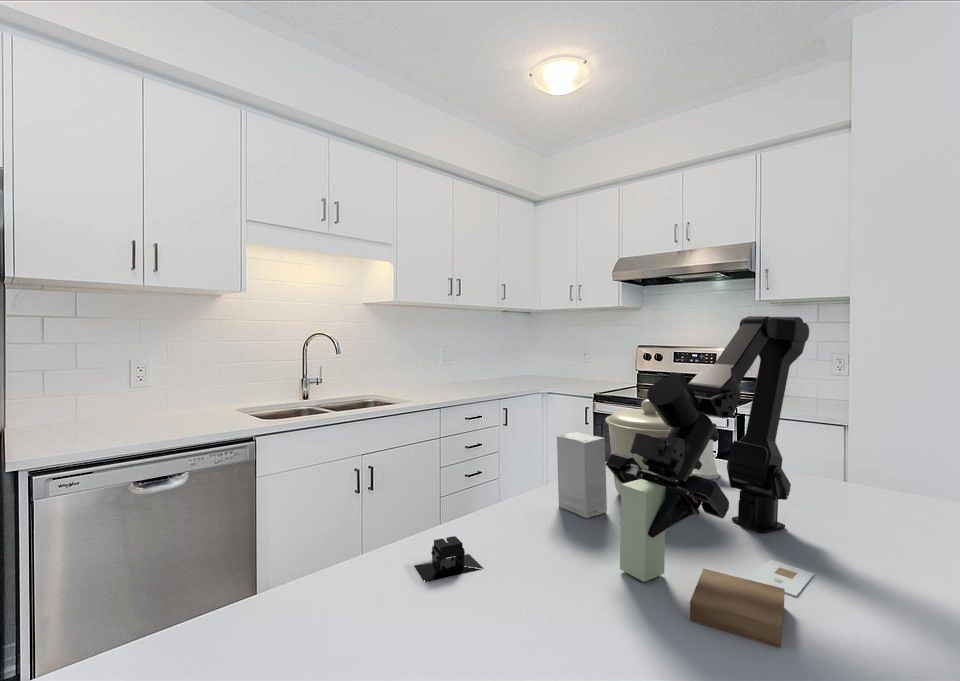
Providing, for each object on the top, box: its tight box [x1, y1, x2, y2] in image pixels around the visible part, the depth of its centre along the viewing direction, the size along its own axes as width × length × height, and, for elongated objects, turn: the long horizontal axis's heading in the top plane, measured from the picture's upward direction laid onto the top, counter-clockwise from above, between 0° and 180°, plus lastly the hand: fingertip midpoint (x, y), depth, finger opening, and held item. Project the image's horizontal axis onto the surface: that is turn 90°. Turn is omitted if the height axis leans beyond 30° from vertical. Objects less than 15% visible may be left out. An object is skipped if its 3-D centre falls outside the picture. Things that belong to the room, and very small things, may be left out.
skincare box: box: [556, 431, 608, 519], centre depth 102 cm, size 8×6×15 cm
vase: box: [690, 440, 720, 480], centre depth 126 cm, size 8×8×10 cm
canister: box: [605, 398, 672, 496], centre depth 109 cm, size 18×18×21 cm
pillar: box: [619, 479, 666, 583], centre depth 77 cm, size 4×4×13 cm
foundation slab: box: [689, 568, 786, 649], centre depth 67 cm, size 10×10×2 cm
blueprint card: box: [749, 559, 815, 598], centre depth 76 cm, size 9×6×1 cm, turn 134°
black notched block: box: [413, 535, 485, 583], centre depth 79 cm, size 12×7×5 cm, turn 115°
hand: (636, 529), depth 76 cm, fingers closed on pillar, 4 cm apart
